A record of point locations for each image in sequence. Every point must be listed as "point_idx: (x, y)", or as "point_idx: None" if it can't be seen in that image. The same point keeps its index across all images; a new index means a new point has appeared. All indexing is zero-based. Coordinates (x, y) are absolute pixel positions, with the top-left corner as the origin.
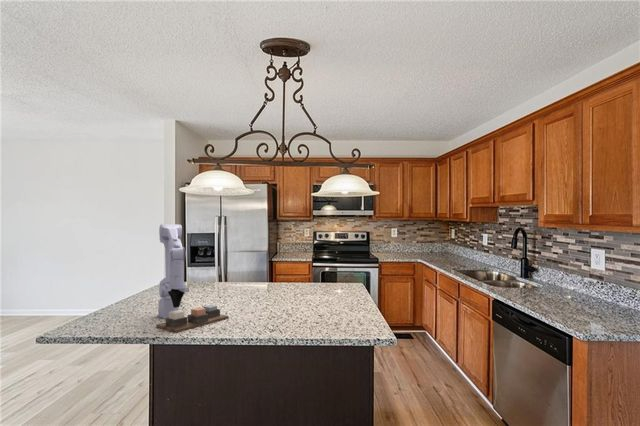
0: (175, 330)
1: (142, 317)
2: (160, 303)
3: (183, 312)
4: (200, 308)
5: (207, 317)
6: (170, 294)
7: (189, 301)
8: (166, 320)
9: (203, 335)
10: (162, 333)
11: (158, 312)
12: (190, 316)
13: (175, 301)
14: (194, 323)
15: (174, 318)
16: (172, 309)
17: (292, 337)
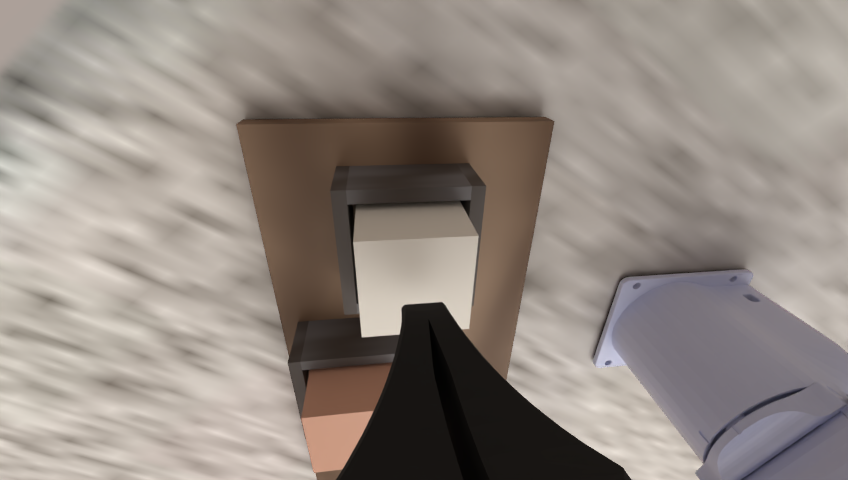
0: (240, 124)
1: (832, 200)
2: (813, 348)
3: (361, 327)
4: None
5: None
6: (528, 453)
7: None
8: (466, 178)
9: (20, 230)
10: (333, 37)
11: (762, 295)
12: (377, 348)
13: (391, 370)
14: (324, 318)
15: (363, 216)
16: (656, 352)
17: None
